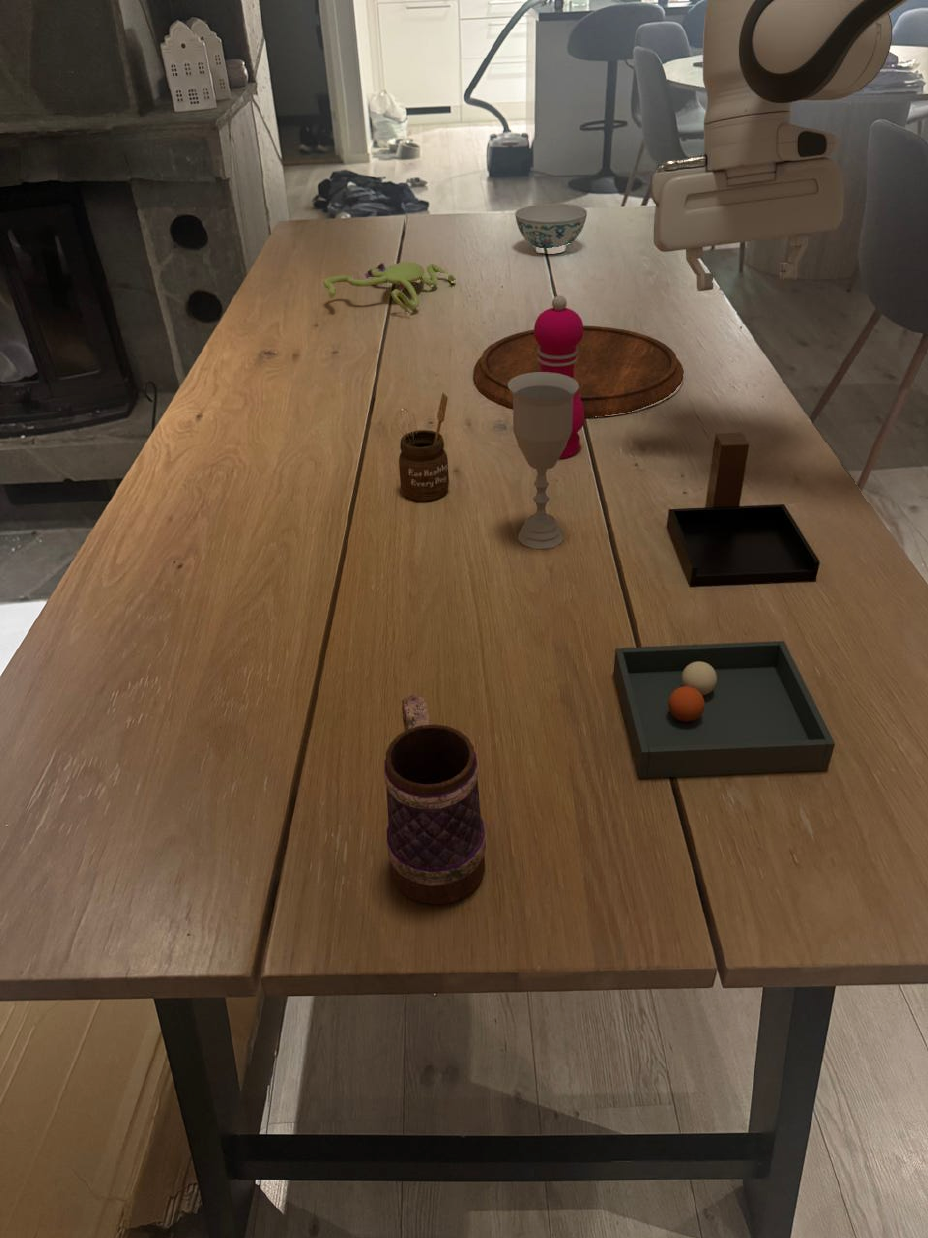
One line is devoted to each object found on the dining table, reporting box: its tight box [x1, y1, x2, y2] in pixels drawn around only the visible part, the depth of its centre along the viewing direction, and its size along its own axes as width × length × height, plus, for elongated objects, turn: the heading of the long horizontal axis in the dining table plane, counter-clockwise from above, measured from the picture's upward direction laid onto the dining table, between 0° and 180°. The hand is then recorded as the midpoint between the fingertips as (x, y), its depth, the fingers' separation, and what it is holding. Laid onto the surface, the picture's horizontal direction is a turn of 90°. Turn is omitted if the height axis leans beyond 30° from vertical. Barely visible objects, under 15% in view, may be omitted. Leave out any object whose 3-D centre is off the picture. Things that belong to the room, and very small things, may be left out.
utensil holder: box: [394, 391, 450, 502], centre depth 111 cm, size 6×6×12 cm
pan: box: [666, 431, 821, 588], centre depth 99 cm, size 13×15×10 cm
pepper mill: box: [533, 294, 585, 460], centre depth 116 cm, size 7×7×20 cm
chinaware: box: [514, 203, 588, 248], centre depth 196 cm, size 15×15×8 cm
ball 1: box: [682, 661, 717, 696], centre depth 81 cm, size 3×3×3 cm
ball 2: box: [668, 686, 705, 722], centre depth 78 cm, size 3×3×3 cm
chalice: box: [508, 372, 579, 550], centre depth 99 cm, size 7×7×18 cm
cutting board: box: [472, 325, 685, 419], centre depth 142 cm, size 32×32×3 cm
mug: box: [383, 694, 487, 905], centre depth 66 cm, size 10×7×12 cm
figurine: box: [322, 262, 457, 314], centre depth 175 cm, size 18×27×6 cm
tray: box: [612, 640, 836, 780], centre depth 79 cm, size 15×13×3 cm
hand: (746, 284), depth 105 cm, fingers open, 8 cm apart
